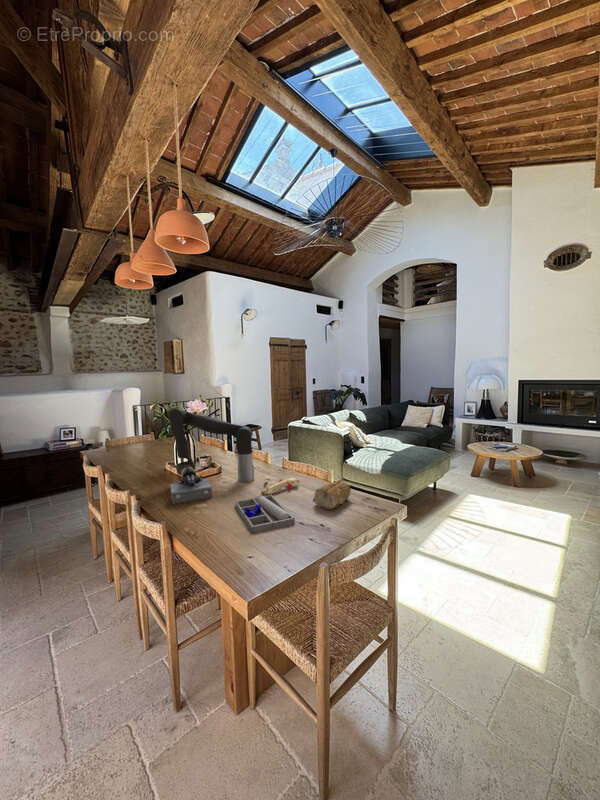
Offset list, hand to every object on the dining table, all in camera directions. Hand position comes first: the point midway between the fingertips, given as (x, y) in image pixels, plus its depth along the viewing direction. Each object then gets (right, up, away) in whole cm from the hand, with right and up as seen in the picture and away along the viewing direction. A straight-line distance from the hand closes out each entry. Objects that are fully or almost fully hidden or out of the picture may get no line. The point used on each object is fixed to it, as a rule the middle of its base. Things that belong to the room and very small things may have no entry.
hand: (192, 484), depth 176 cm
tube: (+42, -11, -12) cm, 46 cm away
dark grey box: (-4, -9, +11) cm, 15 cm away
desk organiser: (+37, -11, -13) cm, 41 cm away
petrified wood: (+73, -10, -1) cm, 73 cm away
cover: (-4, -4, +10) cm, 11 cm away
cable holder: (+33, -11, -15) cm, 38 cm away
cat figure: (+45, -8, +19) cm, 49 cm away
